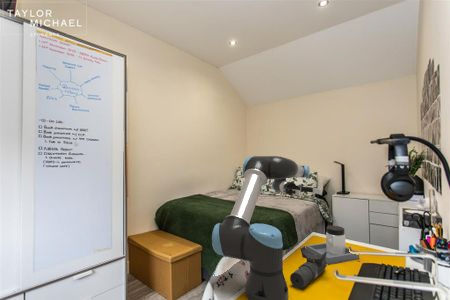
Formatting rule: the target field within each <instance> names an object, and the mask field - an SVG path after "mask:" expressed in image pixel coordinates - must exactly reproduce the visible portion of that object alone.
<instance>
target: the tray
mask: <svg viewBox="0 0 450 300" xmlns="http://www.w3.org/2000/svg"><path fill="white" fill-rule="evenodd" d="M305 248H306V250H307V252H309V253H310V254H312V255H314V256H316V255H321V256H323V255H322V254H323V253H325V252H327V251H326V242H321V243H314V244H309V245H308V244H307V245H305ZM349 248H350V247H348V246H346V253H345V254H341V255H333V254H331V253H329V252H327V254H326V258H325V260H326V262H327V265H328V266H329V265H334V264H340V263H346V262H350V261H351V262H352V261H357V259H358V260H360V254H359V255H356V254H352V253H350V252H349ZM352 250H353V251H355V250H354V249H352Z"/></svg>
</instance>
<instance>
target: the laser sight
mask: <svg viewBox="0 0 450 300" xmlns="http://www.w3.org/2000/svg"><path fill="white" fill-rule="evenodd" d="M299 249H300V251H301V256H302V258H303V259H306V261H305V262H303V263H302V264H301V265H300V266H298V269H295V271H294V272H292V273H291V274H290V277H289V281H290V283H291V285H292V286H293V287H294V288H296V289H298V290H301V289H303V288H304V287H305V286H307V285H308V284H309V283H311V282H312V281H314V280H315V279H316V278H317V277H318V276H319V275H321V274H322V273H323V272H324V271H325V270H326V267H327V265H328V264H327V262H326V260H325V258H326V254H327V252H325V253H323V254H322V255H323V256H321V255H316V256H314V255H312V254H310V253H309V252H307V250H306V245H305V246H302V247H300V248H299Z"/></svg>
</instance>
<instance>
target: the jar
mask: <svg viewBox="0 0 450 300" xmlns="http://www.w3.org/2000/svg"><path fill="white" fill-rule="evenodd" d="M325 237H326V238H325V239H326V240H325V243H326V251H327V252H329V253H331V254H333V255H341V254H345V253H346V247H347V246H346V233H345V228H344V227H341V226H339V225H338V226H337V225H328V226H326V232H325Z"/></svg>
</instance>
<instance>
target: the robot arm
mask: <svg viewBox="0 0 450 300" xmlns="http://www.w3.org/2000/svg"><path fill="white" fill-rule="evenodd" d="M242 174H243V177H244V182H243V184H242V186H241V188H240V191H239V194H238V196H237V198H236V200H235V203H234V206H233V208H232V210H231V212H230V215H226V216H225V218H224V219H223V221H222V222H218V223H216V224H215V225H214V227H213V229H212V233H211V234H212V235H211V245H212V248H213V249H212V250H214V252H215V254H217V255H219V256H223V257H225V258H231V259H236V260H241V261H247V262H249V272H248V275H247V279H246V282H245V285H244V287H245V290H244V291H245V292H244V293H246V294H245V296H246V297H247V299H248V300H289V299H288V298H289V287H288V284H287V281H286V278H285V275H284V271H283V270H284V266H283V265H284V264H283V263H284V262H283V261H284V258H283V247H284V242H283V235H282V232H281V230H279V229H278V228H277V227H276V226H274V225H270V224H267V223H266V224H265V223H252V224H251V223H250V222H251V219H252V216H253V213H254V210H255V208H256V205H257V202H258V199H259V196H260V192H261V189H262V187H263V186H264V185H266V184H267V181H268V180H272V182H271V189H272V190H274V191H275V192H276V193H282V194H285V195H289V196H292V195H295V196H299V197H301V194H302V193H312V194H316V195H323V189H322V188H318V187H316V186H313V187H312V186H300V185H296V183H295V182H293V181H292V182H291V181H287V179H292V178H303V179H305V178H307V179H308V178H309V176H310V166H308V165H300V164H297V163H296V162H295V161H294V160H292V159H290V158H287V157H283V156H279V155H277V156H276V155H258V156H257V155H253V156H248V157H247V158H245V159H244V162H243V164H242Z"/></svg>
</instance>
